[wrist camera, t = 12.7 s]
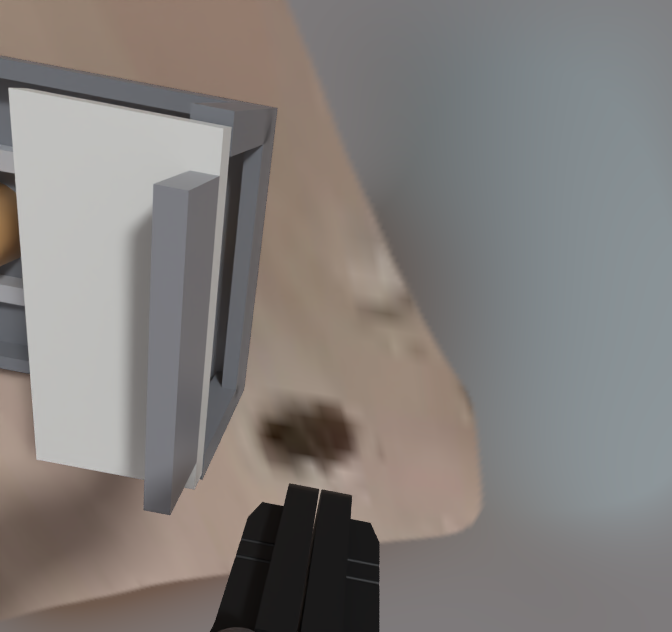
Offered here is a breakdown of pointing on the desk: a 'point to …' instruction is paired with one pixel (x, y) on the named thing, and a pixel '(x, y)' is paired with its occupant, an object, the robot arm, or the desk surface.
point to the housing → (238, 227)
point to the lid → (119, 283)
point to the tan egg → (9, 226)
